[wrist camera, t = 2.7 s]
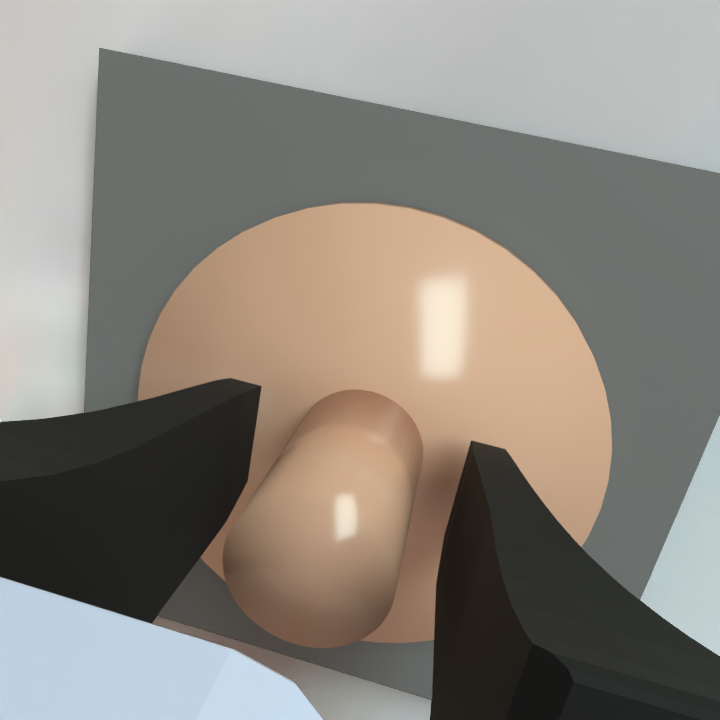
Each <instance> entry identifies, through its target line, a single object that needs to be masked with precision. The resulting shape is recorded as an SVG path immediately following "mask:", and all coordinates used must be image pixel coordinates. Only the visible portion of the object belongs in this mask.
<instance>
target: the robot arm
mask: <svg viewBox="0 0 720 720" xmlns="http://www.w3.org/2000/svg"><path fill="white" fill-rule="evenodd" d="M261 388H262V386H260V385H256V384H252V383H248V382H244V381H240V380H236V379H233V378H227V379H220V380H215V381H211V382H207V383H204V384H200V385H196V386H193V387H189V388H186V389H182V390H179V391H175V392H171V393H168V394H164V395H161V396H157V397H153V398H150V399H145V400H141V401H137V402H133V403H128V404H124V405H120V406H116V407H111V408H107V409H103V410H97V411H92V412H87V413H81V414H75V415H68V416H60V417H53V418H46V419H37V420H23V421H9V422H0V720H323V719H322V718H321V717H320V715H319V714H318V713H317V711H316V710H315V709H314V707H313V706H312V705H311V704H310V702H309V701H308V700H307V698H306V697H305V696H304V694H303V693H302V692H301V691H300V689H299V688H298V687H297V685H296V684H295V683H294V682H293V681H292V680H290V679H289V678H287V677H285V676H283V675H281V674H279V673H278V672H276V671H274V670H272V669H270V668H268V667H267V666H265V665H263V664H261V663H259V662H257V661H255V660H254V659H252V658H250V657H248V656H246V655H244V654H243V653H241V652H239V651H237V650H235V649H232V648H229V647H226V646H222V645H219V644H216V643H213V642H209V641H206V640H203V639H200V638H197V637H193V636H190V635H187V634H184V633H180V632H177V631H174V630H171V629H167V628H164V627H161V626H158V625H154V624H152V623H153V621H154V620H155V618H156V617H157V615H158V614H159V612H160V611H161V609H162V608H163V607H164V605H165V604H166V603H167V601H168V600H169V599H170V597H171V596H172V595H173V593H174V592H175V591H176V589H177V588H178V587H179V585H180V584H181V583H182V581H183V580H184V579H185V577H186V576H187V575H188V573H189V572H190V570H191V569H192V568H193V566H194V565H195V564H196V562H197V561H198V560H199V558H200V557H201V556H202V554H203V553H204V552H205V550H206V549H207V548H208V546H209V545H210V543H211V542H212V541H213V539H214V538H215V537H216V535H217V534H218V533H219V531H220V530H221V528H222V527H223V525H224V524H225V523H226V521H227V519H228V517H229V516H230V514H231V512H232V510H233V508H234V507H235V505H236V503H237V501H238V499H239V497H240V495H241V493H242V491H243V489H244V487H245V485H246V483H247V481H248V475H249V469H250V462H251V455H252V448H253V442H254V435H255V428H256V421H257V415H258V408H259V401H260V394H261ZM430 720H720V656H718V655H717V654H715V653H713V652H712V651H710V650H709V649H707V648H706V647H704V646H703V645H701V644H700V643H698V642H697V641H695V640H693V639H692V638H690V637H689V636H687V635H686V634H685V633H683V632H682V631H680V630H679V629H677V628H676V627H675V626H673V625H672V624H670V623H669V622H668V621H666V620H665V619H663V618H662V617H661V616H659V615H658V614H657V613H656V612H654V611H653V610H652V609H650V608H649V607H648V606H647V605H645V604H644V603H643V602H642V601H640V600H639V599H638V598H636V597H635V596H634V595H633V594H631V593H630V592H629V591H628V590H627V589H625V588H624V587H623V586H622V585H621V584H620V583H618V582H617V581H616V580H615V579H614V578H613V577H612V576H610V575H609V574H608V573H607V572H606V571H605V570H604V569H603V568H602V567H601V566H600V565H599V564H598V563H597V562H596V561H595V560H594V559H593V558H591V557H590V556H589V555H588V554H587V553H586V552H585V551H584V550H583V549H582V547H581V546H580V545H579V544H578V543H577V542H576V541H575V540H574V539H573V538H572V537H571V535H570V534H569V533H568V532H567V531H566V530H565V529H564V527H563V526H562V525H561V524H560V523H559V522H558V521H557V519H556V518H555V517H554V516H553V514H552V513H551V512H550V511H549V509H548V508H547V507H546V506H545V504H544V503H543V502H542V500H541V499H540V498H539V496H538V495H537V494H536V492H535V491H534V489H533V488H532V487H531V485H530V484H529V482H528V481H527V480H526V478H525V477H524V475H523V474H522V472H521V471H520V469H519V468H518V466H517V465H516V463H515V462H514V460H513V459H512V457H511V456H510V455H509V453H508V452H507V451H506V449H503V448H499V447H495V446H491V445H488V444H484V443H480V442H476V441H472V440H471V442H470V446H469V450H468V453H467V457H466V460H465V464H464V467H463V471H462V474H461V478H460V481H459V485H458V488H457V492H456V496H455V499H454V503H453V506H452V510H451V513H450V517H449V520H448V524H447V527H446V531H445V534H444V539H443V545H442V551H441V557H440V563H439V569H438V575H437V581H436V601H435V628H434V656H433V685H432V702H431V715H430Z"/></svg>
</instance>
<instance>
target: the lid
mask: <svg viewBox="0 0 720 720" xmlns="http://www.w3.org/2000/svg"><path fill="white" fill-rule="evenodd" d="M227 378H233V379H236V380H240V381H244V382H248V383H252V384H256V385H260V386H262V388H261V394H260V401H259V408H258V415H257V421H256V428H255V435H254V442H253V448H252V455H251V462H250V469H249V475H248V481H247V483H246V485H245V487H244V489H243V491H242V493H241V495H240V497H239V499H238V501H237V503H236V505H235V507H234V508H233V510H232V512H231V514H230V516H229V517H228V519H227V521H226V523H225V524H224V525H223V527H222V528H221V530H220V531H219V533H218V534H217V535H216V537H215V538H214V539H213V541H212V542H211V543H210V545H209V546H208V548H207V549H206V550H205V552H204V553H203V554H202V556H201V557H200V558H201V559H202V560H203V561H204V562H205V563H206V564H207V565H208V566H209V567H210V568H211V569H212V570H213V571H214V572H215V573H216V574H218V575H219V576H220V577H221V578H222V579H223V580H224V581H225V582H226V583H227V586H228V588H229V591H230V593H231V594H232V596H233V598H234V600H235V601H236V603H237V604H238V605H239V607H240V608H241V609H242V611H243V612H244V613H245V614H246V615H247V616H248V617H249V618H250V619H251V620H252V621H253V622H254V623H256V624H257V625H258V626H260V627H261V628H262V629H264V630H265V631H267V632H269V633H270V634H272V635H274V636H276V637H278V638H280V639H282V640H284V641H287V642H290V643H293V644H297V645H301V646H305V647H313V648H334V647H341V646H345V645H349V644H352V643H355V642H357V641H359V640H361V641H369V642H377V643H410V642H421V641H432V640H434V628H435V601H436V581H437V575H438V569H439V563H440V557H441V551H442V545H443V539H444V534H445V531H446V527H447V524H448V520H449V517H450V513H451V510H452V506H453V503H454V499H455V496H456V492H457V488H458V485H459V481H460V478H461V474H462V471H463V467H464V464H465V460H466V457H467V453H468V450H469V446H470V442H471V440H472V441H476V442H480V443H484V444H488V445H491V446H495V447H499V448H503V449H506V451H507V452H508V453H509V455H510V456H511V457H512V459H513V460H514V462H515V463H516V465H517V466H518V468H519V469H520V471H521V472H522V474H523V475H524V477H525V478H526V480H527V481H528V482H529V484H530V485H531V487H532V488H533V489H534V491H535V492H536V494H537V495H538V496H539V498H540V499H541V500H542V502H543V503H544V504H545V506H546V507H547V508H548V509H549V511H550V512H551V513H552V514H553V516H554V517H555V518H556V519H557V521H558V522H559V523H560V524H561V525H562V526H563V527H564V529H565V530H566V531H567V532H568V533H569V534H570V535H571V537H572V538H573V539H574V540H575V541H576V542H577V543H578V544H579V545H580V546H581V547H582V545H583V544H584V542H585V541H586V539H587V538H588V536H589V534H590V532H591V529H592V527H593V525H594V523H595V521H596V518H597V516H598V514H599V512H600V510H601V506H602V502H603V499H604V495H605V492H606V488H607V485H608V481H609V473H610V464H611V456H612V434H611V418H610V412H609V407H608V401H607V396H606V391H605V387H604V384H603V381H602V379H601V376H600V373H599V370H598V367H597V364H596V361H595V358H594V356H593V354H592V352H591V350H590V348H589V346H588V344H587V342H586V340H585V338H584V336H583V334H582V332H581V330H580V328H579V326H578V324H577V323H576V321H575V319H574V317H573V316H572V315H571V313H570V312H569V310H568V309H567V308H566V306H565V305H564V303H563V302H562V301H561V299H560V298H559V296H558V295H557V294H556V292H555V291H554V290H553V289H552V288H551V287H550V286H549V285H548V284H547V283H546V282H545V281H544V280H543V279H542V277H541V276H540V275H539V274H538V273H537V272H536V271H535V270H534V269H533V268H532V267H531V266H529V265H528V264H527V263H526V262H524V261H523V260H522V259H521V258H519V257H518V256H517V255H516V254H514V253H513V252H512V251H511V250H509V249H508V248H507V247H506V246H504V245H502V244H501V243H499V242H497V241H496V240H494V239H492V238H491V237H489V236H487V235H486V234H484V233H482V232H481V231H479V230H477V229H475V228H473V227H471V226H468V225H466V224H464V223H461V222H459V221H457V220H454V219H452V218H450V217H447V216H445V215H441V214H438V213H434V212H431V211H427V210H423V209H420V208H416V207H413V206H406V205H399V204H392V203H384V202H339V203H332V204H324V205H317V206H312V207H308V208H305V209H301V210H297V211H294V212H290V213H287V214H283V215H281V216H278V217H275V218H273V219H271V220H268V221H266V222H264V223H262V224H259V225H257V226H255V227H253V228H250V229H248V230H246V231H244V232H242V233H240V234H239V235H237V236H236V237H234V238H232V239H231V240H229V241H228V242H226V243H225V244H223V245H221V246H220V247H218V248H217V249H216V250H214V251H213V252H212V253H211V254H210V255H209V256H208V257H206V258H205V259H204V260H203V261H202V262H201V263H199V264H198V265H197V266H196V267H195V268H194V269H193V270H192V271H191V272H190V273H189V275H188V276H187V277H186V278H185V279H184V280H183V282H182V283H181V284H180V285H179V286H178V287H177V289H176V290H175V291H174V293H173V294H172V296H171V298H170V299H169V301H168V302H167V304H166V306H165V307H164V309H163V310H162V312H161V313H160V316H159V318H158V320H157V322H156V325H155V327H154V329H153V331H152V334H151V336H150V338H149V341H148V345H147V348H146V352H145V355H144V359H143V363H142V366H141V374H140V382H139V389H138V401H141V400H145V399H150V398H153V397H157V396H161V395H164V394H168V393H171V392H175V391H179V390H182V389H186V388H189V387H193V386H196V385H200V384H204V383H207V382H211V381H215V380H220V379H227Z"/></svg>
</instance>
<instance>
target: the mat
mask: <svg viewBox="0 0 720 720" xmlns="http://www.w3.org/2000/svg"><path fill="white" fill-rule="evenodd" d="M339 202H384V203H392V204H399V205H406V206H413V207H416V208H420V209H423V210H427V211H431V212H434V213H438V214H441V215H445V216H447V217H450V218H452V219H454V220H457V221H459V222H461V223H464V224H466V225H468V226H471V227H473V228H475V229H477V230H479V231H481V232H482V233H484V234H486V235H487V236H489V237H491V238H492V239H494V240H496V241H497V242H499V243H501V244H502V245H504V246H506V247H507V248H508V249H509V250H511V251H512V252H513V253H514V254H516V255H517V256H518V257H519V258H521V259H522V260H523V261H524V262H526V263H527V264H528V265H529V266H531V267H532V268H533V269H534V270H535V271H536V272H537V273H538V274H539V275H540V276H541V277H542V279H543V280H544V281H545V282H546V283H547V284H548V285H549V286H550V287H551V288H552V289H553V290H554V291H555V292H556V294H557V295H558V296H559V298H560V299H561V301H562V302H563V303H564V305H565V306H566V308H567V309H568V310H569V312H570V313H571V315H572V316H573V317H574V319H575V321H576V323H577V324H578V326H579V328H580V330H581V332H582V334H583V336H584V338H585V340H586V342H587V344H588V346H589V348H590V350H591V352H592V354H593V356H594V358H595V361H596V364H597V367H598V370H599V373H600V376H601V379H602V381H603V384H604V387H605V391H606V396H607V401H608V407H609V412H610V418H611V434H612V456H611V464H610V473H609V481H608V485H607V488H606V492H605V495H604V499H603V502H602V506H601V510H600V512H599V514H598V516H597V518H596V521H595V523H594V525H593V527H592V529H591V532H590V534H589V536H588V538H587V539H586V541H585V542H584V544H583V545H582V549H583V550H584V551H585V552H586V553H587V554H588V555H589V556H590V557H591V558H593V559H594V560H595V561H596V562H597V563H598V564H599V565H600V566H601V567H602V568H603V569H604V570H605V571H606V572H607V573H608V574H609V575H610V576H612V577H613V578H614V579H615V580H616V581H617V582H618V583H620V584H621V585H622V586H623V587H624V588H625V589H627V590H628V591H629V592H630V593H631V594H633V595H634V596H635V597H636V598H638V599H639V600H640V599H641V596H642V594H643V592H644V590H645V587H646V585H647V583H648V580H649V578H650V576H651V573H652V571H653V569H654V566H655V564H656V562H657V559H658V557H659V555H660V552H661V550H662V548H663V545H664V543H665V541H666V538H667V536H668V534H669V531H670V529H671V527H672V524H673V522H674V520H675V517H676V515H677V513H678V511H679V508H680V506H681V504H682V501H683V499H684V497H685V494H686V492H687V490H688V487H689V485H690V483H691V480H692V478H693V476H694V473H695V471H696V469H697V466H698V464H699V462H700V459H701V457H702V455H703V452H704V450H705V448H706V445H707V443H708V441H709V438H710V436H711V434H712V431H713V429H714V427H715V425H716V422H717V420H718V418H719V415H720V173H715V172H711V171H706V170H701V169H696V168H691V167H686V166H681V165H676V164H671V163H666V162H661V161H656V160H651V159H646V158H641V157H636V156H631V155H626V154H622V153H617V152H612V151H607V150H602V149H597V148H592V147H587V146H582V145H577V144H572V143H567V142H562V141H557V140H552V139H547V138H542V137H537V136H533V135H528V134H523V133H518V132H513V131H508V130H503V129H498V128H493V127H488V126H483V125H478V124H473V123H468V122H463V121H458V120H453V119H448V118H444V117H439V116H434V115H429V114H424V113H419V112H414V111H409V110H404V109H399V108H394V107H389V106H384V105H379V104H374V103H369V102H364V101H359V100H355V99H350V98H345V97H340V96H335V95H330V94H325V93H320V92H315V91H310V90H305V89H300V88H295V87H290V86H285V85H280V84H275V83H270V82H266V81H261V80H256V79H251V78H246V77H241V76H236V75H231V74H226V73H221V72H216V71H211V70H206V69H201V68H196V67H191V66H186V65H182V64H177V63H172V62H167V61H162V60H157V59H152V58H147V57H142V56H137V55H132V54H127V53H122V52H117V51H112V50H107V49H102V48H99V70H98V94H97V118H96V142H95V165H94V189H93V213H92V237H91V261H90V284H89V308H88V332H87V356H86V379H85V403H84V413H87V412H92V411H97V410H103V409H107V408H111V407H116V406H120V405H124V404H128V403H133V402H137V401H138V389H139V382H140V374H141V366H142V363H143V359H144V355H145V352H146V348H147V345H148V341H149V338H150V336H151V334H152V331H153V329H154V327H155V325H156V322H157V320H158V318H159V316H160V313H161V312H162V310H163V309H164V307H165V306H166V304H167V302H168V301H169V299H170V298H171V296H172V294H173V293H174V291H175V290H176V289H177V287H178V286H179V285H180V284H181V283H182V282H183V280H184V279H185V278H186V277H187V276H188V275H189V273H190V272H191V271H192V270H193V269H194V268H195V267H196V266H197V265H198V264H199V263H201V262H202V261H203V260H204V259H205V258H206V257H208V256H209V255H210V254H211V253H212V252H213V251H214V250H216V249H217V248H218V247H220V246H221V245H223V244H225V243H226V242H228V241H229V240H231V239H232V238H234V237H236V236H237V235H239V234H240V233H242V232H244V231H246V230H248V229H250V228H253V227H255V226H257V225H259V224H262V223H264V222H266V221H268V220H271V219H273V218H275V217H278V216H281V215H283V214H287V213H290V212H294V211H297V210H301V209H305V208H308V207H312V206H317V205H324V204H332V203H339ZM157 616H160V617H163V618H167V619H170V620H173V621H176V622H180V623H183V624H186V625H189V626H193V627H196V628H199V629H202V630H206V631H209V632H212V633H215V634H219V635H222V636H225V637H228V638H232V639H235V640H238V641H241V642H245V643H248V644H251V645H254V646H258V647H261V648H264V649H267V650H271V651H274V652H277V653H280V654H284V655H287V656H290V657H294V658H297V659H300V660H303V661H307V662H310V663H313V664H316V665H320V666H323V667H326V668H329V669H333V670H336V671H339V672H342V673H346V674H349V675H352V676H355V677H359V678H362V679H365V680H368V681H372V682H375V683H378V684H381V685H385V686H388V687H391V688H394V689H398V690H401V691H404V692H407V693H411V694H414V695H417V696H420V697H424V698H427V699H430V700H432V685H433V656H434V640H432V641H421V642H410V643H377V642H369V641H361V640H359V641H357V642H355V643H352V644H349V645H345V646H341V647H334V648H313V647H305V646H301V645H297V644H293V643H290V642H287V641H284V640H282V639H280V638H278V637H276V636H274V635H272V634H270V633H269V632H267V631H265V630H264V629H262V628H261V627H260V626H258V625H257V624H256V623H254V622H253V621H252V620H251V619H250V618H249V617H248V616H247V615H246V614H245V613H244V612H243V611H242V609H241V608H240V607H239V605H238V604H237V603H236V601H235V600H234V598H233V596H232V594H231V593H230V591H229V588H228V586H227V583H226V582H225V581H224V580H223V579H222V578H221V577H220V576H219V575H218V574H216V573H215V572H214V571H213V570H212V569H211V568H210V567H209V566H208V565H207V564H206V563H205V562H204V561H203V560H202V559H201V558H199V560H198V561H197V562H196V564H195V565H194V566H193V568H192V569H191V570H190V572H189V573H188V575H187V576H186V577H185V579H184V580H183V581H182V583H181V584H180V585H179V587H178V588H177V589H176V591H175V592H174V593H173V595H172V596H171V597H170V599H169V600H168V601H167V603H166V604H165V605H164V607H163V608H162V609H161V611H160V612H159V614H158V615H157Z"/></svg>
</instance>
